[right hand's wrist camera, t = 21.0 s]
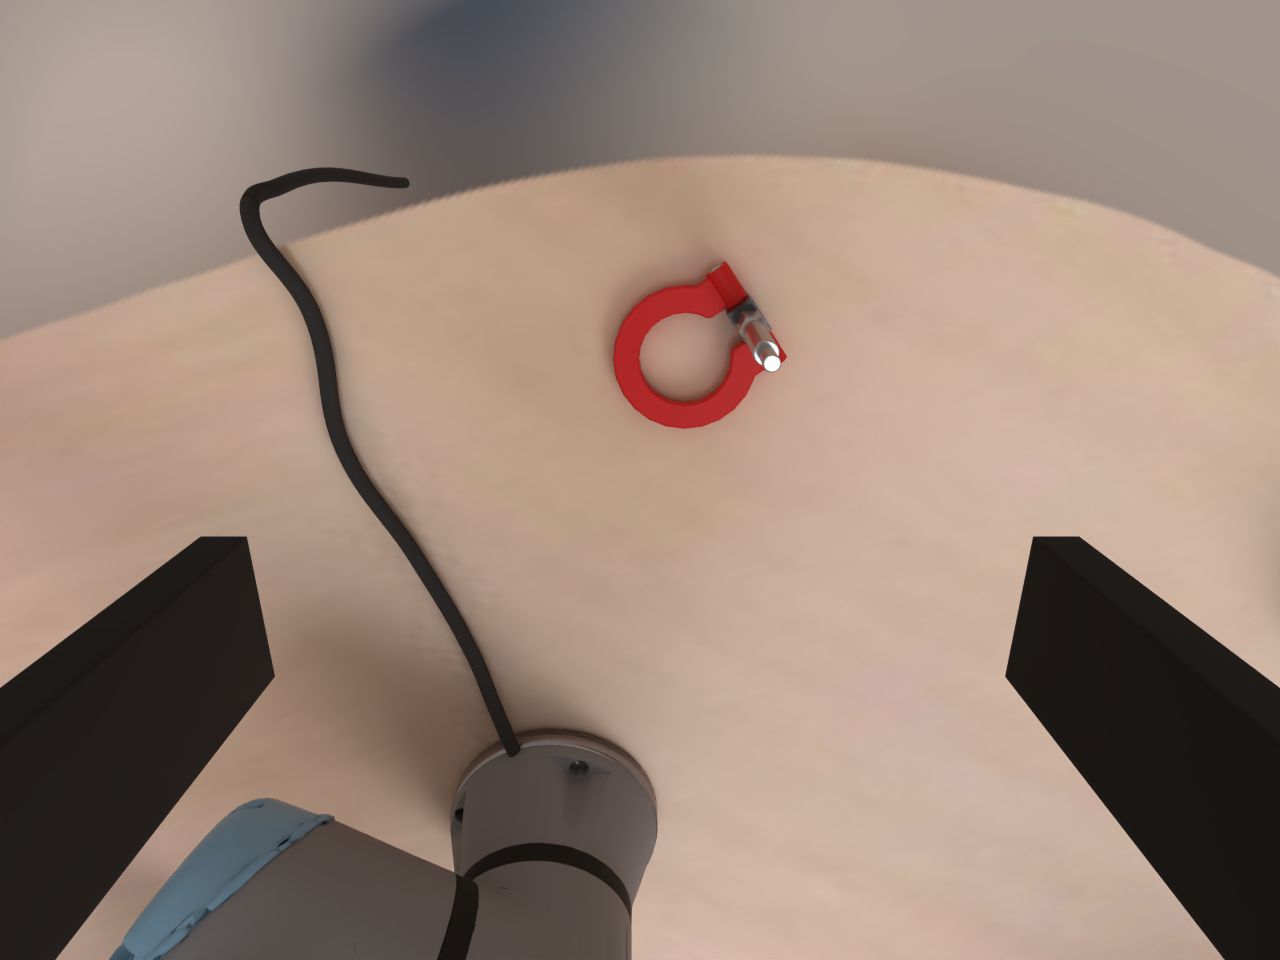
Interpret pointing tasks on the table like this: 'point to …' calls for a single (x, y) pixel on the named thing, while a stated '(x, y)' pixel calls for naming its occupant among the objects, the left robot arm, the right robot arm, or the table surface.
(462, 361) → the table surface
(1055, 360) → the table surface
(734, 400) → the tow hook
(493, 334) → the table surface
